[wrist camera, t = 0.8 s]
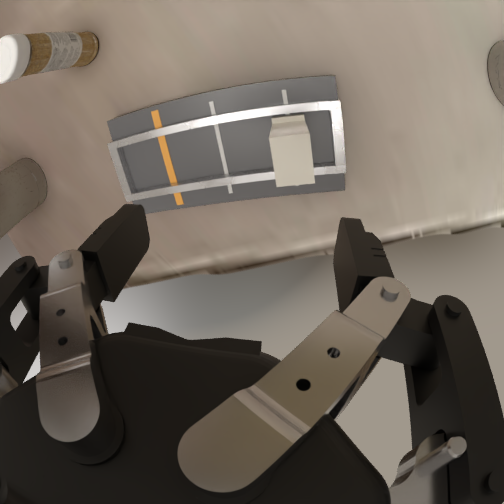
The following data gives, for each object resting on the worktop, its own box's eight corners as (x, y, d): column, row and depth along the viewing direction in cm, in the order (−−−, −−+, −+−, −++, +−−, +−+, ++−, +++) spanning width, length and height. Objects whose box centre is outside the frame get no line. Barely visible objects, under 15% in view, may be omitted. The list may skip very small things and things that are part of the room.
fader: (303, 113, 26) (308, 126, 20) (309, 162, 29) (315, 189, 23) (271, 116, 26) (267, 131, 21) (279, 165, 29) (277, 192, 23)
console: (332, 75, 25) (337, 75, 22) (342, 183, 32) (347, 194, 29) (115, 117, 29) (101, 123, 27) (143, 207, 36) (133, 220, 33)
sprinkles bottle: (65, 47, 24) (-18, 60, 13) (91, 24, 23) (7, 24, 12) (79, 74, 26) (-4, 94, 15) (106, 51, 25) (21, 59, 14)
